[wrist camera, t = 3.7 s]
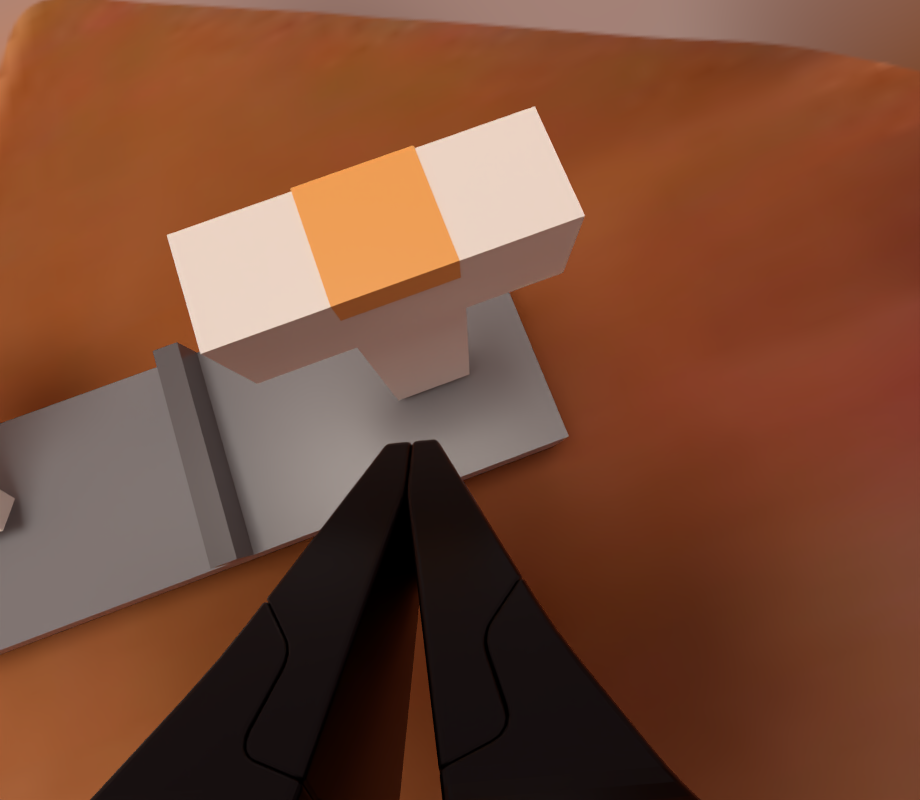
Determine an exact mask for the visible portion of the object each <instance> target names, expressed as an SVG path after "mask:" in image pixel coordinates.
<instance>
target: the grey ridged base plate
mask: <svg viewBox="0 0 920 800" xmlns="http://www.w3.org/2000/svg"><path fill="white" fill-rule="evenodd" d="M466 313H467V333H468V353H469V373H470V374H469V375H466V376H464V377H461V378H458V379H456V380H453V381H450V382H447V383H445V384H442V385H439V386H437V387H434V388H431V389H428V390H426V391H423V392H420V393H418V394H415V395H412V396H410V397H407V398H404V399H401V400H399V401H398V399H397V398H396V397H395V395H394V394H393V393H392V392H391V390H390V389H389V388H388V386H387V385H386V384H385V383H384V381H383V380H382V379H381V378H380V376H379V375H378V374H377V372H376V371H375V370H374V369H373V367H372V366H371V365H370V363H369V362H368V361H367V360H366V358H365V357H364V356H363V354H362V353H361V352H360V351H359V349H358V348H354V349H352V350H349V351H346V352H343V353H341V354H338V355H335V356H332V357H330V358H327V359H324V360H321V361H319V362H316V363H313V364H310V365H307V366H305V367H302V368H299V369H296V370H294V371H291V372H288V373H285V374H283V375H280V376H277V377H274V378H272V379H269V380H266V381H263V382H261V383H258V384H257V383H255V382H253V381H251V380H249V379H247V378H245V377H243V376H241V375H240V374H238V373H236V372H234V371H232V370H230V369H228V368H226V367H224V366H223V365H221V364H219V363H217V362H215V361H213V360H211V359H209V358H207V357H205V356H204V355H202V354H200V352H198V353H196V352H194V351H193V350H191V349H189V348H187V347H185V346H183V345H181V344H179V343H174V344H171V345H168V346H166V347H163V348H160V349H157V350H154V351H153V354H154V358H155V361H156V365H157V367H156V368H153V369H151V370H148V371H145V372H142V373H139V374H137V375H134V376H131V377H128V378H126V379H123V380H120V381H117V382H114V383H112V384H109V385H106V386H103V387H101V388H98V389H95V390H92V391H89V392H87V393H84V394H81V395H78V396H75V397H73V398H70V399H67V400H64V401H62V402H59V403H56V404H53V405H50V406H48V407H45V408H42V409H39V410H37V411H34V412H31V413H28V414H25V415H23V416H20V417H17V418H14V419H11V420H9V421H6V422H3V423H0V490H2V491H3V492H5V493H7V494H8V495H10V496H12V497H13V498H15V500H14V503H13V505H12V508H11V511H10V513H9V516H8V519H7V522H6V524H5V527H4V530H3V531H0V654H3V653H6V652H8V651H11V650H14V649H16V648H19V647H22V646H24V645H27V644H30V643H32V642H35V641H38V640H40V639H43V638H45V637H48V636H51V635H53V634H56V633H59V632H61V631H64V630H67V629H69V628H72V627H75V626H77V625H80V624H83V623H85V622H88V621H91V620H93V619H96V618H99V617H101V616H104V615H107V614H109V613H112V612H115V611H117V610H120V609H123V608H125V607H128V606H131V605H133V604H136V603H138V602H141V601H144V600H146V599H149V598H152V597H154V596H157V595H160V594H162V593H165V592H168V591H170V590H173V589H176V588H178V587H181V586H184V585H186V584H189V583H192V582H194V581H197V580H200V579H202V578H205V577H208V576H210V575H213V574H216V573H218V572H221V571H223V570H226V569H229V568H231V567H234V566H237V565H239V564H242V563H245V562H247V561H250V560H253V559H255V558H258V557H261V556H263V555H266V554H269V553H271V552H274V551H277V550H279V549H282V548H285V547H287V546H290V545H293V544H295V543H298V542H301V541H303V540H306V539H309V538H311V537H314V536H316V535H317V533H318V532H319V531H320V529H321V528H322V527H323V525H324V524H325V523H326V522H327V520H328V519H329V518H330V516H331V515H332V514H333V512H334V511H335V510H336V509H337V507H338V506H339V505H340V503H341V502H342V501H343V500H344V498H345V497H346V496H347V494H348V493H349V492H350V490H351V489H352V488H353V487H354V485H355V484H356V483H357V481H358V480H359V479H360V477H361V476H362V475H363V474H364V472H365V471H366V470H367V468H368V467H369V466H370V465H371V463H372V462H373V461H374V459H375V458H376V457H377V455H378V454H379V453H380V452H381V450H382V449H383V448H384V446H385V445H387V444H390V443H399V442H410V443H411V444H413V443H414V442H415V441H420V440H431V439H435V440H437V441H438V442H439V443H440V445H441V446H442V448H443V449H444V451H445V453H446V454H447V456H448V458H449V459H450V461H451V462H452V464H453V466H454V467H455V469H456V470H457V472H458V474H459V475H460V477H461V479H462V480H465V479H468V478H471V477H473V476H476V475H479V474H481V473H484V472H487V471H489V470H492V469H495V468H497V467H500V466H502V465H505V464H508V463H510V462H513V461H516V460H518V459H521V458H524V457H526V456H529V455H532V454H534V453H537V452H540V451H542V450H545V449H548V448H550V447H553V446H555V445H557V444H558V443H560V442H561V441H563V440H564V439H566V438H567V437H569V436H568V433H567V431H566V428H565V426H564V424H563V421H562V419H561V416H560V414H559V412H558V409H557V407H556V404H555V402H554V399H553V397H552V395H551V392H550V390H549V387H548V385H547V383H546V380H545V378H544V375H543V373H542V370H541V368H540V366H539V363H538V361H537V358H536V356H535V354H534V351H533V349H532V346H531V344H530V342H529V339H528V337H527V334H526V332H525V329H524V327H523V325H522V322H521V320H520V317H519V315H518V313H517V310H516V308H515V305H514V303H513V300H512V298H511V296H510V293H509V292H508V293H506V294H503V295H500V296H497V297H495V298H492V299H489V300H486V301H484V302H481V303H478V304H475V305H473V306H470V307H467V308H466Z"/></svg>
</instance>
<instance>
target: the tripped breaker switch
mask: <svg viewBox="0 0 920 800" xmlns="http://www.w3.org/2000/svg"><path fill="white" fill-rule="evenodd" d="M290 189H291V192H289V193H286V194H283V195H280V196H277V197H274V198H272V199H269V200H266V201H263V202H260V203H257V204H254V205H251V206H249V207H246V208H243V209H240V210H237V211H234V212H231V213H229V214H226V215H223V216H220V217H217V218H214V219H211V220H209V221H206V222H203V223H200V224H197V225H194V226H191V227H189V228H186V229H183V230H180V231H177V232H174V233H171V234H169V235H167V237H168V241H169V244H170V248H171V251H172V255H173V258H174V262H175V265H176V269H177V273H178V276H179V280H180V283H181V287H182V290H183V294H184V297H185V301H186V304H187V308H188V311H189V315H190V318H191V322H192V325H193V329H194V332H195V336H196V340H197V343H198V347H199V350H200V354H202V355H204V356H205V357H207V358H209V359H211V360H213V361H215V362H217V363H219V364H221V365H223V366H224V367H226V368H228V369H230V370H232V371H234V372H236V373H238V374H240V375H241V376H243V377H245V378H247V379H249V380H251V381H253V382H255V383H257V384H258V383H261V382H263V381H266V380H269V379H272V378H274V377H277V376H280V375H283V374H285V373H288V372H291V371H294V370H296V369H299V368H302V367H305V366H307V365H310V364H313V363H316V362H319V361H321V360H324V359H327V358H330V357H332V356H335V355H338V354H341V353H343V352H346V351H349V350H352V349H354V348H358V349H359V351H360V352H361V353H362V354H363V356H364V357H365V358H366V360H367V361H368V362H369V363H370V365H371V366H372V367H373V369H374V370H375V371H376V372H377V374H378V375H379V376H380V378H381V379H382V380H383V381H384V383H385V384H386V385H387V386H388V388H389V389H390V390H391V392H392V393H393V394H394V395H395V397H396V398H397V399H398V401H399V400H401V399H404V398H407V397H410V396H412V395H415V394H418V393H420V392H423V391H426V390H428V389H431V388H434V387H437V386H439V385H442V384H445V383H447V382H450V381H453V380H456V379H458V378H461V377H464V376H466V375H469V374H470V373H469V353H468V333H467V313H466V308H467V307H470V306H473V305H475V304H478V303H481V302H484V301H486V300H489V299H492V298H495V297H497V296H500V295H503V294H506V293H508V292H511V291H514V290H517V289H519V288H522V287H525V286H528V285H530V284H533V283H536V282H539V281H541V280H544V279H547V278H550V277H552V276H555V275H558V274H561V273H563V271H564V269H565V266H566V263H567V261H568V258H569V256H570V253H571V250H572V248H573V245H574V243H575V240H576V237H577V235H578V232H579V230H580V227H581V224H582V222H583V219H584V217H585V215H584V213H583V211H582V209H581V206H580V204H579V202H578V200H577V198H576V195H575V193H574V191H573V189H572V187H571V185H570V182H569V180H568V178H567V176H566V174H565V171H564V169H563V167H562V165H561V163H560V161H559V158H558V156H557V154H556V152H555V150H554V147H553V145H552V143H551V141H550V139H549V137H548V134H547V132H546V130H545V128H544V126H543V123H542V121H541V119H540V117H539V115H538V113H537V110H536V108H535V106H534V107H532V108H529V109H526V110H523V111H520V112H517V113H514V114H512V115H509V116H506V117H503V118H500V119H497V120H494V121H492V122H489V123H486V124H483V125H480V126H477V127H474V128H472V129H469V130H466V131H463V132H460V133H457V134H454V135H452V136H449V137H446V138H443V139H440V140H437V141H434V142H432V143H429V144H426V145H423V146H420V147H417V148H414V145H413V146H410V147H407V148H404V149H402V150H399V151H396V152H393V153H390V154H387V155H384V156H382V157H379V158H376V159H373V160H370V161H367V162H364V163H362V164H359V165H356V166H353V167H350V168H347V169H344V170H342V171H339V172H336V173H333V174H330V175H327V176H324V177H321V178H319V179H316V180H313V181H310V182H307V183H304V184H301V185H299V186H296V187H293V188H290Z"/></svg>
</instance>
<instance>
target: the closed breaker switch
mask: <svg viewBox="0 0 920 800" xmlns="http://www.w3.org/2000/svg"><path fill="white" fill-rule="evenodd" d="M14 500H15V498H13V497H12V496H10V495H8V494H7V493H5V492H3V491H2V490H0V531H3V530H4V527H5V524H6V522H7V519H8V516H9V513H10V511H11V508H12V505H13V503H14Z"/></svg>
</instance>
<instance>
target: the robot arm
mask: <svg viewBox="0 0 920 800" xmlns="http://www.w3.org/2000/svg"><path fill="white" fill-rule="evenodd" d="M267 601H268V603H269V604H268V603H267V602H265V603H263V604H262V605H261V607H260V608H259V609H258V611H257V612H256V613H255V615H254V616H253V617H252V618H251V620H250V621H249V622H248V624H247V625H246V626H245V627H244V629H243V630H242V631H241V632H240V634H239V635H238V636H237V637H236V638H235V640H234V641H233V642H232V643H231V645H230V646H229V647H228V648H227V650H226V651H225V652H224V653H223V654H222V656H221V657H220V658H219V659H218V660H217V662H216V663H215V664H214V665H213V666H212V667H211V668H210V669H209V671H208V672H207V673H206V674H205V675H204V676H203V677H202V679H201V680H200V681H199V682H198V683H197V684H196V685H195V686H194V688H193V689H192V690H191V691H190V692H189V693H188V694H187V695H186V697H185V698H184V699H183V700H182V701H181V702H180V703H179V704H178V705H177V706H176V707H175V709H174V710H173V711H172V712H171V713H170V714H169V715H168V716H167V717H166V718H165V719H164V720H163V722H162V723H161V724H160V725H159V726H158V727H157V728H156V729H155V730H154V731H153V732H152V733H151V735H150V736H149V737H148V738H147V739H146V740H145V741H144V742H143V743H142V744H141V745H140V746H139V748H138V749H137V750H136V751H135V752H134V753H133V754H132V755H131V756H130V757H129V758H128V759H127V761H126V762H125V763H124V764H123V765H122V766H121V767H120V768H119V769H118V770H117V771H116V772H115V774H114V775H113V776H112V777H111V778H110V779H109V780H108V781H107V782H106V783H105V784H104V785H103V787H102V788H101V789H100V790H99V791H98V792H97V793H96V794H95V795H94V796H93V797H92V798H91V799H90V800H399V799H400V789H401V779H402V769H403V759H404V749H405V739H406V729H407V719H408V709H409V699H410V689H411V679H412V669H413V659H414V649H415V639H416V629H417V619H418V609H419V605H420V614H421V622H422V631H423V639H424V648H425V656H426V664H427V673H428V681H429V690H430V698H431V707H432V715H433V724H434V732H435V740H436V749H437V757H438V766H439V770H440V783H441V791H442V800H700V799H699V798H698V797H697V796H696V795H695V794H694V793H693V792H692V791H691V790H690V789H689V788H688V787H687V786H686V785H685V784H684V783H683V782H682V781H681V780H680V779H679V778H678V777H677V776H676V775H675V774H674V773H673V772H672V771H671V769H670V768H669V767H668V766H667V765H666V764H665V763H664V762H663V760H662V759H661V758H660V757H659V756H658V755H657V753H656V752H655V751H654V750H653V749H652V747H651V746H650V745H649V744H648V743H647V741H646V740H645V739H644V738H643V736H642V735H641V734H640V733H639V732H638V730H637V729H636V728H635V727H634V726H633V724H632V723H631V722H630V721H629V719H628V718H627V717H626V716H625V715H624V713H623V712H622V711H621V710H620V708H619V707H618V706H617V705H616V704H615V702H614V701H613V700H612V699H611V697H610V696H609V695H608V694H607V693H606V691H605V690H604V689H603V688H602V686H601V685H600V684H599V683H598V682H597V680H596V679H595V678H594V677H593V675H592V674H591V673H590V672H589V671H588V669H587V668H586V667H585V666H584V664H583V663H582V662H581V661H580V659H579V658H578V657H577V655H576V654H575V653H574V652H573V650H572V649H571V648H570V646H569V645H568V644H567V642H566V641H565V640H564V639H563V637H562V636H561V635H560V633H559V632H558V631H557V629H556V628H555V626H554V625H553V623H552V622H551V620H550V619H549V617H548V616H547V614H546V613H545V611H544V610H543V608H542V607H541V605H540V604H539V602H538V601H537V599H536V598H535V596H534V595H533V593H532V591H531V590H530V588H529V586H528V585H527V583H526V582H525V580H523V579H522V576H521V574H520V572H519V571H518V569H517V568H516V566H515V564H514V563H513V561H512V559H511V558H510V556H509V555H508V553H507V551H506V550H505V548H504V547H503V545H502V543H501V542H500V540H499V538H498V537H497V535H496V534H495V532H494V530H493V529H492V527H491V525H490V524H489V522H488V521H487V519H486V517H485V516H484V514H483V513H482V511H481V509H480V508H479V506H478V504H477V503H476V501H475V500H474V498H473V496H472V495H471V493H470V492H469V490H468V488H467V487H466V485H465V483H464V482H463V480H462V479H461V477H460V475H459V474H458V472H457V470H456V469H455V467H454V466H453V464H452V462H451V461H450V459H449V458H448V456H447V454H446V453H445V451H444V449H443V448H442V446H441V445H440V443H439V442H438V441H437V440H435V439H431V440H420V441H415V442H414V443H413V444H411V443H410V442H399V443H390V444H387V445H385V446H384V448H383V449H382V450H381V452H380V453H379V454H378V455H377V457H376V458H375V459H374V461H373V462H372V463H371V465H370V466H369V467H368V468H367V470H366V471H365V472H364V474H363V475H362V476H361V477H360V479H359V480H358V481H357V483H356V484H355V485H354V487H353V488H352V489H351V490H350V492H349V493H348V494H347V496H346V497H345V498H344V500H343V501H342V502H341V503H340V505H339V506H338V507H337V509H336V510H335V511H334V512H333V514H332V515H331V516H330V518H329V519H328V520H327V522H326V523H325V524H324V525H323V527H322V528H321V529H320V531H319V532H318V533H317V535H316V536H315V537H314V538H313V540H312V541H311V542H310V544H309V545H308V546H307V547H306V549H305V550H304V551H303V553H302V554H301V555H300V557H299V558H298V559H297V560H296V562H295V563H294V564H293V566H292V567H291V568H290V570H289V571H288V572H287V573H286V575H285V576H284V577H283V579H282V580H281V581H280V582H279V584H278V585H277V586H276V588H275V589H274V590H273V592H272V593H271V594H270V595H269V597H268V599H267Z"/></svg>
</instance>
